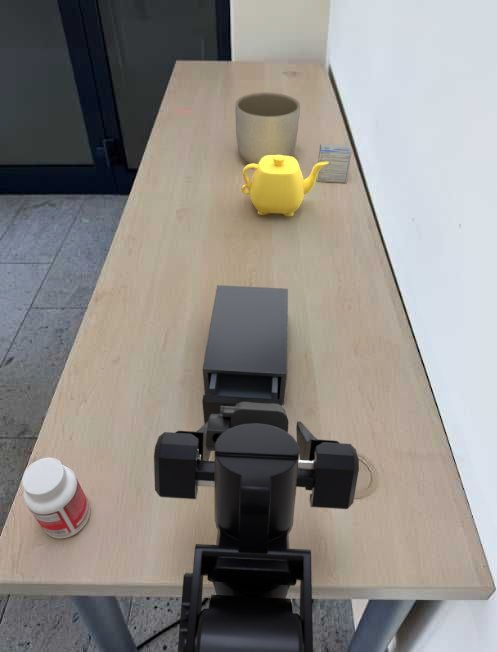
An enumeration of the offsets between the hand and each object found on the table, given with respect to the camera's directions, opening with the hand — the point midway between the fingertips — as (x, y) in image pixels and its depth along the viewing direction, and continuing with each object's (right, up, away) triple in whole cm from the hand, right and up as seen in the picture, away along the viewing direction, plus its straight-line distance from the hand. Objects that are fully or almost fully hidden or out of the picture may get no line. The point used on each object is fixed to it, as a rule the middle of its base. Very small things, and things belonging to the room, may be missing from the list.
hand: (256, 422), depth 54 cm
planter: (+4, +58, +84) cm, 102 cm away
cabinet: (-1, +5, +31) cm, 31 cm away
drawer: (-1, +1, +25) cm, 25 cm away
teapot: (+7, +40, +66) cm, 78 cm away
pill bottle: (-25, -15, +11) cm, 31 cm away
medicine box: (+21, +50, +76) cm, 94 cm away
